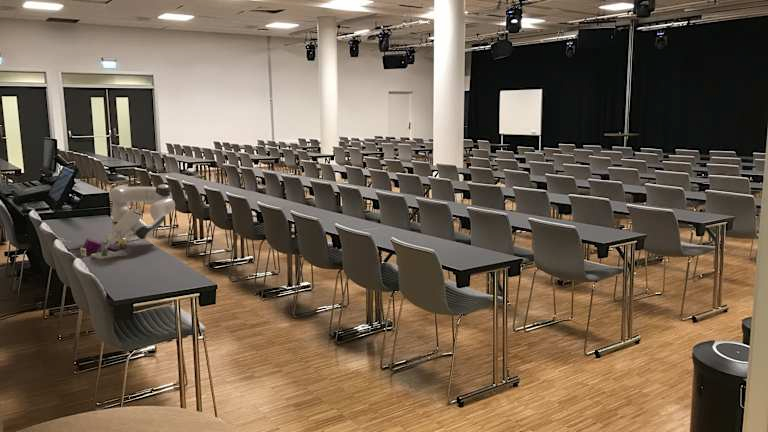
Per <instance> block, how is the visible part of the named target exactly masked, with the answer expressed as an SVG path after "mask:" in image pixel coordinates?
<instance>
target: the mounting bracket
mask: <svg viewBox="0 0 768 432" xmlns="http://www.w3.org/2000/svg"><path fill="white" fill-rule="evenodd" d="M100 242H101V241H97V240H94V239H92V238H89V237H86V240H85V242H84V244H83V248H85V249H86V255H87V254H88V255H89V256H91V254H94V253H98V251H99V250H100V249H101V243H100ZM115 250H116V247H114V246H112V245H110V246H108V251H111V252H115Z"/></svg>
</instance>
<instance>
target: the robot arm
mask: <svg viewBox="0 0 768 432" xmlns="http://www.w3.org/2000/svg"><path fill="white" fill-rule="evenodd" d="M108 197H109V200H110V201H111V202H112V209H111V210H112V211H111V213H112V221H111V222H112V223H111V224H112V230H111V232H110V233H109V234H108V238H107V239H106V241H107V244H106V245H105V246H104V247H105V248H107V247H108V246H112V245H114V244H115V243H116V242H119V238H126V242H132V240H133V241H136V240H141V239H142V240H143V239H144V240H145V239H147V238H148V237H149V236H150V235H151V234H152V233H153V232H154V231H155V230H156V229H157V228H158V227H160V226H161V225H162V224H163V222H164V221H165V219H166V216H167V215H168V214H169V215H170V214H171V213H172V212H173V210H174V209H175V208H176V203H175V200H173V195H172V188H171V186H170V185H169V184H166V183H163V184H158V185H157V186H125V185H123V184H122V185H117V186H115V187H113V188H111V190H110V191H109V194H108ZM130 203H152V204H151V205H150V207H149V214H150V216H151V218H152V219H153V221H152V222H151V223H150V224H147V223H146V222H145V221H144V220H143V219H142V217H143V213H141V211H140V210H138V209H137V208H131V209H130ZM129 209H130V210H129Z"/></svg>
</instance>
